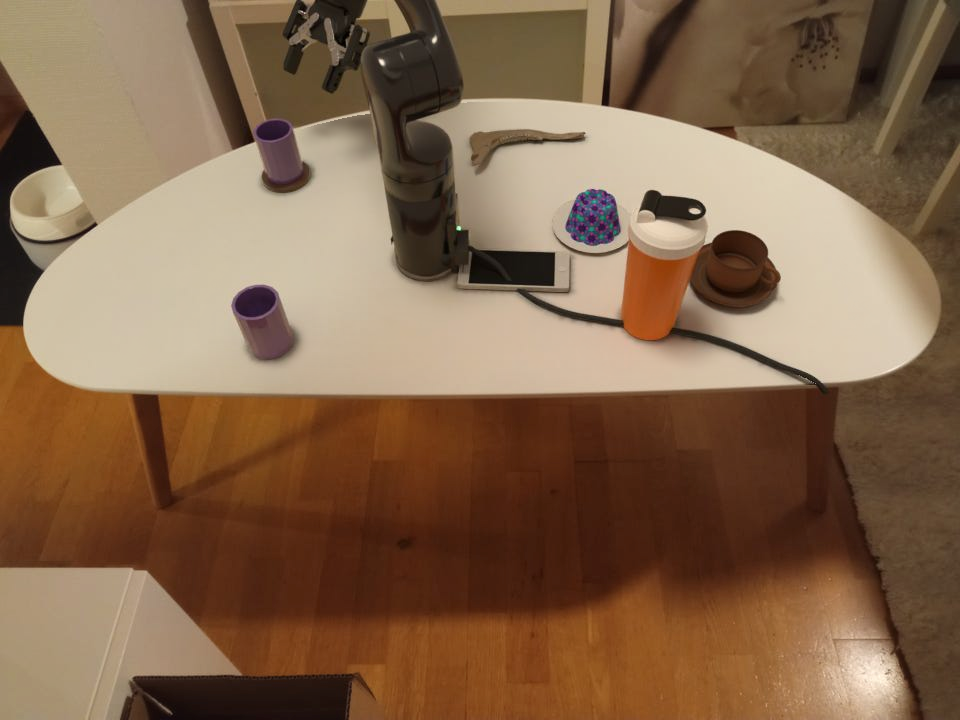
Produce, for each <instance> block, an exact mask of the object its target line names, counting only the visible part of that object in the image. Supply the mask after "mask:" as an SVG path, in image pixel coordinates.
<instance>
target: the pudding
mask: <svg viewBox="0 0 960 720" xmlns="http://www.w3.org/2000/svg"><path fill="white" fill-rule="evenodd" d="M630 216H631V213H630V212H629V211H628V209H626V208H625V207H624V206H622V204H619V203H617V200H616V198H615V196H614V195H613V194H611V193H608V192H607V190H605V189H600V188H599V189H595V188H588V189H586V190H585V191H582V192H579V194H577V195H576V198H575V199H571V200H569V201H568V202H566V203H564V204H563V205H561V206H560V207H559V208H557V210H556V211H555V213H554V215H553V218H552V220H551V221H552V223H551V225H552V230H553V233H554V234H555V236H556V237H557V239H558V240H559V241H561V242H562V243H563V244H564V245H566V246H567V247H569V248H571V249H573V250H576V251H580V252H583V253H590V254H601V253H608V252H611V251H615V250H617V249H619V248H621V247H623V246H624V245H626V244H627V243H628V242H629V236H628V226H629V221H630Z"/></svg>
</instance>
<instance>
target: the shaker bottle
mask: <svg viewBox="0 0 960 720" xmlns="http://www.w3.org/2000/svg"><path fill="white" fill-rule="evenodd" d="M706 213H707V208H706V206H705V205H704V203H702V202H701V201H700V200H698V199H696V198H692V197H686V196H677V195H666V194H665V195H663V194H662V192H661V191H659V190H658V189H654V188H651V189H649V190H646V192H645V193H644V195H643V198H642V201H641V203H639V204H638V205H636V207H634V209H633V210H632V211H631V213H630V215H631V216H630V221H629V226H628V236H629V241H628V242H627V243H628V244H627V253H626V261H625V262H626V263H625V272H624V283H623V291H622V300H621V301H622V302H621V309H620V310H621V311H620V320H623V323H624V326H622V327H623V329H624V330H625V331H626V332H627V333H628V334H630V335H631V336H632V337H634V338H637V339H640V340H645V341H654V340H661V339H663V338H665V337H667V336H668V335H669V334H670V333H671V332H670V330H671V329H672V327H674V328H675V324H676V321H677V319H678V318H677V317H678V315H679V312H680V310H681V306H682V304H683V301H684V298H685V295H686V291H687V290H688V286H689V283H690V277H691V274H692V271H693V268H694V265H695V262H696V259H697V256H698V253H699V250H700V249H701V248H702V247H703V245H705V242H706V237H707V233H708V227H709V225H708V220H707V218H706V216H705V215H706Z"/></svg>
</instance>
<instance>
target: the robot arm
mask: <svg viewBox="0 0 960 720" xmlns="http://www.w3.org/2000/svg"><path fill="white" fill-rule="evenodd" d="M393 1H394V2H395V4H396V6H397V8H398V9H399V11H400V13H401V15H402V16H403V18H404V20H405V22H406V25H407V27H408V28H409V31H410V32H406V33H402V34H399V35H396V36H392V37H389V38H386V39H381V40H378V41H375V42H373V43H372V42H371V43H369V40H370V37H371V31H369V30H368V29H366V28H365V27H363V26H361V25H360V24H356V22H357V19H361V17H362V16H363V13H364V10H365V8H366V5H367V3H368V0H314V1H313V3H312V5H310V4H308V3H307V2H305V1H304V0H295V1H294V4H293V6H292V8H291V9H292V10H291V12H290V14H289V16H288V19H287V20H286V21H287V22H286V23H285V26H284V28H283V30H282V37H283V38H284V39H286V40H287V41H288V44H289V47H288V48H287V49H288V50H287V51H286V55H285V58H284V61H283V67H282V68H283V71H285V72H286V73H288V74H291V75H293V76H295V75H296V74H297V72H298V70H299V67H300V64H301V61H302V59H303V57H304V53H305V52H303V51H304V50H306V49H307V48H308V47H310V46H311V45H314V44H316V43H318V42H319V43H320V44H324V45H326V46H327V47H328V50H329V51H330V56H331V64H329V67H328V69H327V72H326V74H325V77H324V79H323V82H322V84H321V89H322V91H325V92H327V93H329V94H331V95H333V94H335V92H336V91H338V89H339V86H340V84H341V81H342V79H343V76H344V73H345V72H346V71H350V70H351V71H355V72H356V71H358V70H359V69H360V74H361V80H362V85H363V89H364V94H365V97H366V102H367V105H368V106H367V107H368V109H369V115H370V119H371V125H372V130H373V135H374V140H375V143H376V148H377V153H378V157H379V164H380V168H381V169H380V170H381V174H382V181H383V187H384V193H385V200H386V204H387V212H388V218H389V223H390V230H391V237H390V245H391V246H393V247H394V257H395V263H396V266H397V268H398V269H399V271H400V272H401V273H402V274H403V275H405V276H407V277H408V278H410V279H413V280H417V281H425V282H426V281H436V280H440V279H442V278H445V277H447V276H448V275H451V274H452V273H453V274H454V273H459V266H460V265H468V262H469V251H470V252H472V253H474V254H476V255H477V256H479V257H481V258H483V259H485V260H486V261H488V262H489V263H491V264H492V265H493V266H495V267H496V268H497V269H498V271H499V272H500V273H501V275H502V276H503V278H504V279H505V280H507V281H511V280H512V279H511V278H510V277H509V275H508V274H507V272H506V271H505V269H504V268H503V267H502V266H501V265H500V264H499V263H498V262H497V261H496V260H495V259H493V258H492V257H490V256H489V255H487V254H485V253H483V252H482V251H480V250H478V249H479V248H476V247H474V246H472V245H470V232H469V229H461V225H460V223H461V222H460V209H459V195H458V193H457V192H456V191H457V190H456V178H455V163H454V150H453V143H452V139H451V137H450V136H449V134H448V133H447V131H446V130H444V129H443V128H442V127H441V126H439V125H437V124H435V123H432V122H429V121H424V120H421V119H425V118H427V117H431V116H433V115H437V114H440V113H443V112H446V111H449V110H452V109H454V108H456V107H458V106H459V105H460V104H461V103H462V101H463V98H464V94H465V93H464V92H465V91H464V90H465V87H464V78H463V72H462V68H461V64H460V60H459V58H458V54H457V51H456V49H455V46H454V43H453V41H452V38H451V35H450V32H449V29H448V28H447V25H446V23H445V21H444V17H443V15H442V13H441V10H440V7H439V5H438V2H437V0H393ZM348 39H349V40H348ZM368 43H369V44H368ZM515 291H516V292H517V293H519V294H520V295H521V296H522V297H524V298H526V299H527V300H529V301H531V302H532V303H534V304H535V305H538V306H540V307H543V308H545V309H547V310H550V311H551V312H555V313H557V314H561V315H563V316H567V317H570V318H574V319H575V318H576V319H581V320H585V321H592V322H598V323H604V324H609V325H615V326H622V327H623V326H624V323H623V320H621V319H618V318H611V317H605V316H599V315H595V314H588V313H581V312H576V311H572V310H568V309H565V308H562V307H560V306H556V305H554V304H552V303H549V302H546V301H545V300H543V299H541V298H538V297H536V296H534V295H533V294H532V293H529V291H525V290H524V289H516V290H515ZM670 333H671V334H676V335H682V336H687V337H692V338H697V339H701V340H706V341H709V342H712V343H715V344H719V345H722V346H725V347H728V348H730V349H733V350H736V351H739V352H740V353H743V354H745V355H748V356H749V357H752V358H755V359H756V360H758V361H761V362H763V363H766V364H767V365H770V366H772V367H774V368H776V369H779V370H781V371H784V372H786V373H790V374H793V375H795V376H797V377H801V376H802V377H801V378H803V379H805V378H807V379H808V380H807V379H806V380H807V381H809V380H810V381H809V382H811V381H812V382H811V383H812V384H813V385H815V386H816V388H818V390H819V391H820V392H821V393H822V394H823V395H829V394H830V390H829V389H828V388H827V387H826V385H825V384H824V383H823V382H822V381H821V380H819V379H818V378H817V377H815V376H814V375H812V374H810V373H808V372H806V371H803V370H801V369H798V368H795V367H792V366H790V365H787V364H784V363H781V362H779V361H777V360H774V359H773V358H770V357H768V356H766V355H764V354H761V353H759V352H757V351H755V350H753V349H751V348H748V347H747V346H746V347H745V346H744V345H741V344H738V343H735V342H733V341H731V340H727V339H724V338H721V337H718V336H714V335H711V334H709V333H708V334H707V333H704V332H700V331H696V330H695V331H694V330H690V329H685V328H680V327H675V326H674V327H672V329H671V330H670ZM799 375H800V376H799ZM813 382H814V383H813ZM821 382H822V383H821ZM815 383H816V384H815Z"/></svg>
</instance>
